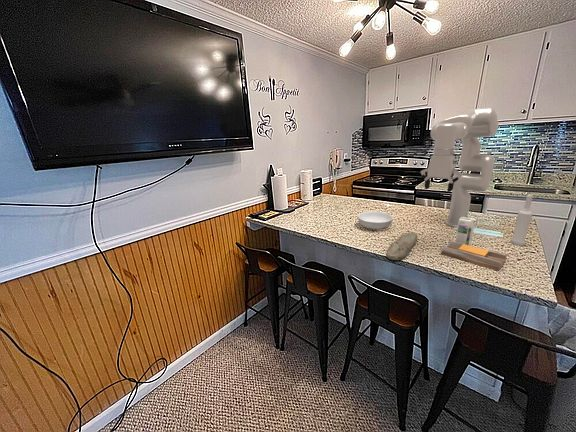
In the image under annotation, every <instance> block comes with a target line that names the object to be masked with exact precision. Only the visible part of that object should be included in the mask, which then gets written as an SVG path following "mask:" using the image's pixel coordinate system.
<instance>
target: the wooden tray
mask: <svg viewBox="0 0 576 432" xmlns="http://www.w3.org/2000/svg"><path fill="white" fill-rule="evenodd" d="M462 245H463V244H462V243H458V242H455V240H454V241H453V240H448V245H447V246H445V245H443V246H442V250H441V251H440V255H442V256H446V257H450V258H453V259H457V260H459V261H463V262H467V263H469V264H473V265H477V266H481V267H484V268H487V269H490V270H494V271H497V272H499V271H500V270H501V269H502V267H503V266H504V264H505V263H506V261H507V255H508V254H506V253H505V254H504V253H501V252H497V251H493V250H489V253H488V254H487V255H486V256H485V257H482V256H479V255H475V254H471V253H468V252H464V251H460V250H458V248H460V247H461V246H462ZM465 245H466V244H465ZM469 246H471V245H469ZM472 246H473V245H472ZM473 247H475V246H473Z"/></svg>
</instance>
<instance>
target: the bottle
mask: <svg viewBox="0 0 576 432" xmlns="http://www.w3.org/2000/svg"><path fill="white" fill-rule="evenodd" d="M533 198H534V195H533V194H531V195H530V194H528V195H526V199H525V201H524V202H525V203H524V206H523V208H522V209H520V210H519V211H518V212H517V217H516V221H515V225H514V230H513V234H512V238H511V239H510V243H511V244H512V245H514V246H525V244H526V237H527V234H528V231H529V228H530V224H531V221H532V218H533V215H534V213H533V212H532V211H531V209H530V208H531V204H532V202H533V201H532V200H533Z"/></svg>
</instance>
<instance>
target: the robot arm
mask: <svg viewBox="0 0 576 432" xmlns="http://www.w3.org/2000/svg"><path fill="white" fill-rule="evenodd" d="M498 130H499V119H498V115H497V111H496V110H495V109H494V108H493V107H479V108H471V109H467V110H465V111H464V112H462V113H460V114H459V115H457V116H456V115H455V116H453V117H449V118H446V119H442V120H440V121H438V122H436V123H435V124H433V126H432V128H431V130H430V138H431V139H432V140H433V141H434V148H433V155H431V157H430V159H429V164H428V167H427V168H425V169H422V170H420V174H421V178H422V179H423V180H424V190H428V189H430V185H431V180H430V179H433V178H435V179H445V180H446V179H447V180H448V182H449V183H448V185H447V193H451V199H450V206H449V212H448V216H447V217H448V219H445V221H444V225H446V226H448V227H452V228H458V222H459V219H460V218H461V217H466V218H469V217H468V216H469V212H470V207H471V206H470V205H471V200H472V196H471V193H470V192H469V191H471V192H472V191H474V192H481V193H482V192H486V191H487V190H488V189H489V186H490V184H491V180H492V175H493V171H494V167H495V157H494V156H493V155H492V154H485V153H484V154H483V153H482V154H481V153H480V152H481V149H482V144H481V142H480V140H479V139H478V138H490V137H493V136H495V135H496V134H497V132H498ZM459 140H461V142H462V143H461V144H462V145H461V146H462V149H461V153H460V156H459V157H460V158H459V163H458V168H459V169H460V170H461V171H464V172H460V171H459V170H457V169H456V156H455V155H454V154H457V153H458V150H457V149H455V144H456V141H459ZM426 172H427V174H426ZM468 172H469V173H468ZM470 172H476V173H470ZM477 172H480V173H477Z"/></svg>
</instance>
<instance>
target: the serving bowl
mask: <svg viewBox="0 0 576 432" xmlns="http://www.w3.org/2000/svg"><path fill="white" fill-rule="evenodd" d="M357 219H358V222H359V224H360V225H361V226H363V227H364V228H367V229H371V230H383V229H386V228H388V227H390V226H391V224H392V222H393V219H394V217H393V215H391V214H390V213H386V212H382V211H375V210H374V211H373V210H372V211H364V212H361V213H359V214H358V215H357Z"/></svg>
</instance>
